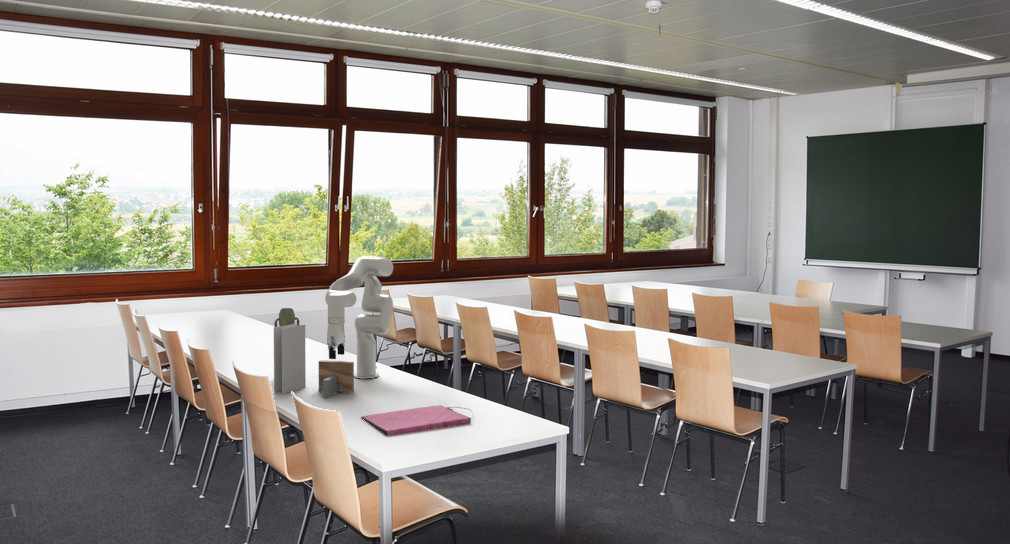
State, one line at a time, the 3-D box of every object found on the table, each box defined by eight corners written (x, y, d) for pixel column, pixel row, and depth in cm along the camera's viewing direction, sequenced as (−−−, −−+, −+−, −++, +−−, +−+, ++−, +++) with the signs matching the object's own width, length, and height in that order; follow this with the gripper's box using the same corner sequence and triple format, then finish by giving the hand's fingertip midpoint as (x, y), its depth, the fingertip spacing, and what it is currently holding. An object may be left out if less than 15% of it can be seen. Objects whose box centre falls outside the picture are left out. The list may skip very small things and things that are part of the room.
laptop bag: (386, 427, 280) (360, 411, 304) (386, 437, 281) (361, 421, 304) (480, 412, 301) (449, 399, 324) (480, 422, 301) (449, 408, 324)
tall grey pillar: (297, 386, 357) (296, 323, 355) (305, 387, 355) (305, 324, 352) (274, 391, 345) (273, 327, 343) (282, 393, 342) (282, 328, 340)
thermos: (272, 378, 373) (271, 308, 370) (295, 375, 380) (295, 306, 377) (278, 381, 366) (277, 310, 363) (302, 378, 373) (301, 308, 370)
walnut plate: (321, 389, 351) (321, 360, 350) (353, 391, 348) (353, 361, 347) (318, 391, 348) (318, 361, 347) (351, 393, 345) (351, 363, 344)
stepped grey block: (343, 385, 360) (343, 369, 359) (348, 385, 359) (348, 369, 359) (322, 397, 336) (322, 379, 336) (328, 397, 336) (328, 380, 335)
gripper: (336, 316, 354) (336, 352, 356) (320, 322, 338) (321, 360, 339) (351, 317, 353) (351, 353, 355) (336, 323, 336) (336, 361, 338)
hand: (336, 356), depth 347 cm, fingers open, 9 cm apart
